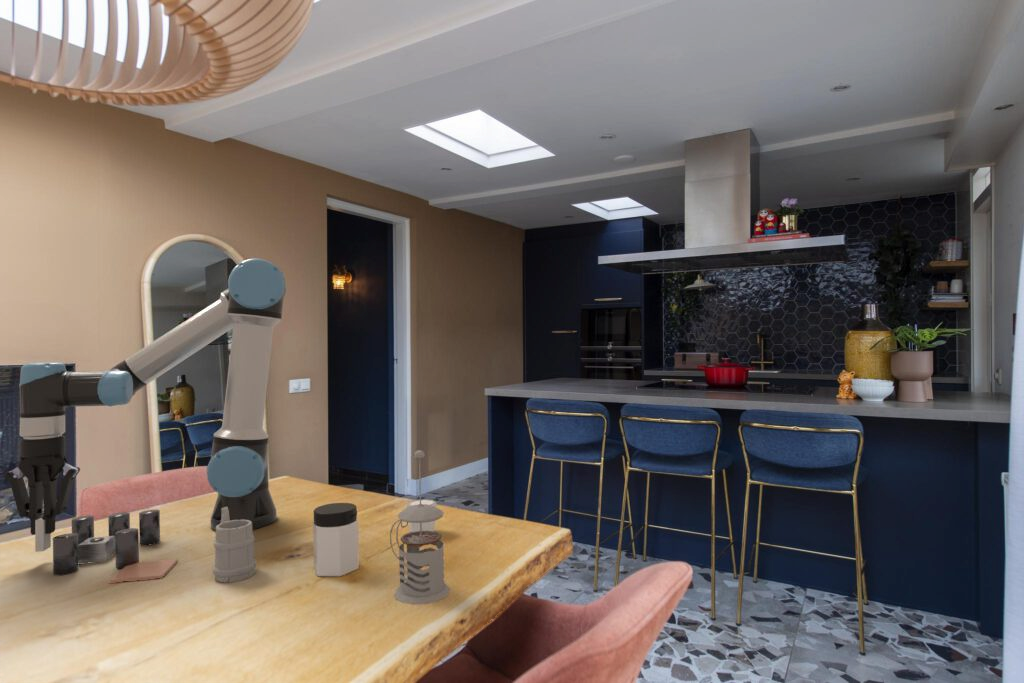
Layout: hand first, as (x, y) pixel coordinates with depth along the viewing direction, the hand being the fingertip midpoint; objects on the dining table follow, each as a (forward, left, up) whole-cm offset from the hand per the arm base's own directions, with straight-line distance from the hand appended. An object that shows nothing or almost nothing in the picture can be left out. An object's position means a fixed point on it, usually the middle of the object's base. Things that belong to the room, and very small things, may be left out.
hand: (43, 549), depth 123 cm
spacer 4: (-18, +7, -3) cm, 20 cm away
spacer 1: (-7, +7, -3) cm, 11 cm away
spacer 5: (-17, -8, -3) cm, 19 cm away
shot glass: (-78, +3, -3) cm, 78 cm away
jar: (-60, +21, -3) cm, 64 cm away
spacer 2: (-4, -7, -3) cm, 9 cm away
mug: (-40, +17, -3) cm, 44 cm away
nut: (-10, 0, -3) cm, 11 cm away
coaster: (-23, +12, -3) cm, 26 cm away
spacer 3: (-11, -8, -3) cm, 14 cm away
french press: (-75, +36, -3) cm, 84 cm away
